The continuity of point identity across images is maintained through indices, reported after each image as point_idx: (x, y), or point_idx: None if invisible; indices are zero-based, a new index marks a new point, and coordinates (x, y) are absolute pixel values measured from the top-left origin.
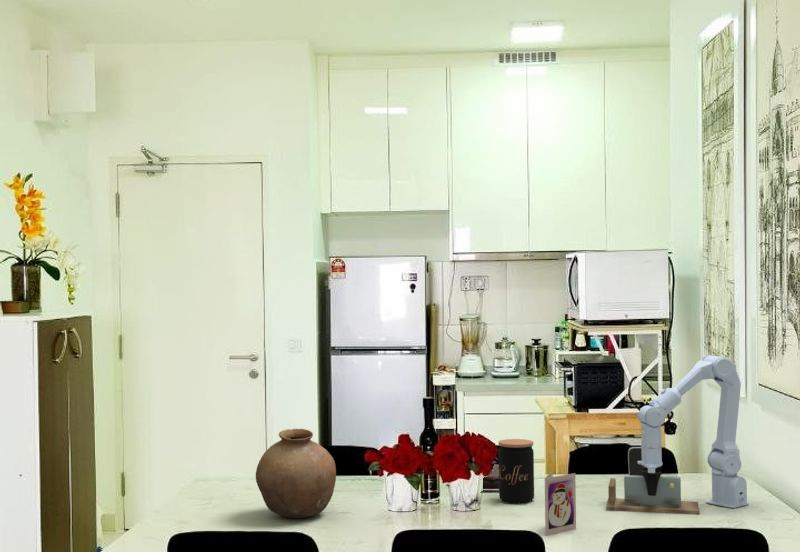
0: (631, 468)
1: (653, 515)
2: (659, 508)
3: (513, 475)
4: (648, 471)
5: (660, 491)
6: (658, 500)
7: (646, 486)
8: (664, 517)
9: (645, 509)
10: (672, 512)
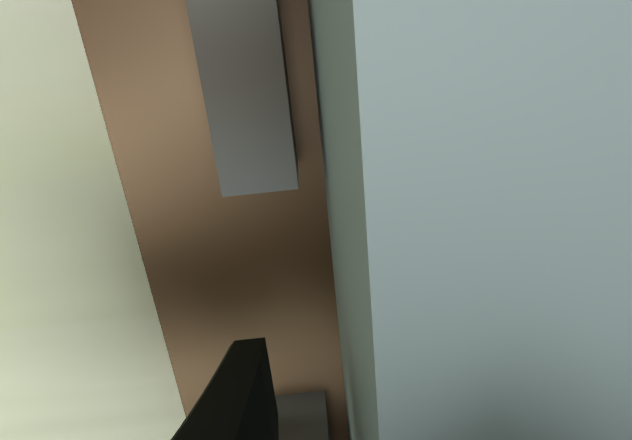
0: None
1: (37, 309)
2: (200, 363)
3: None
4: None
5: None
6: (345, 376)
7: (174, 435)
8: (10, 397)
9: (139, 236)
10: None
